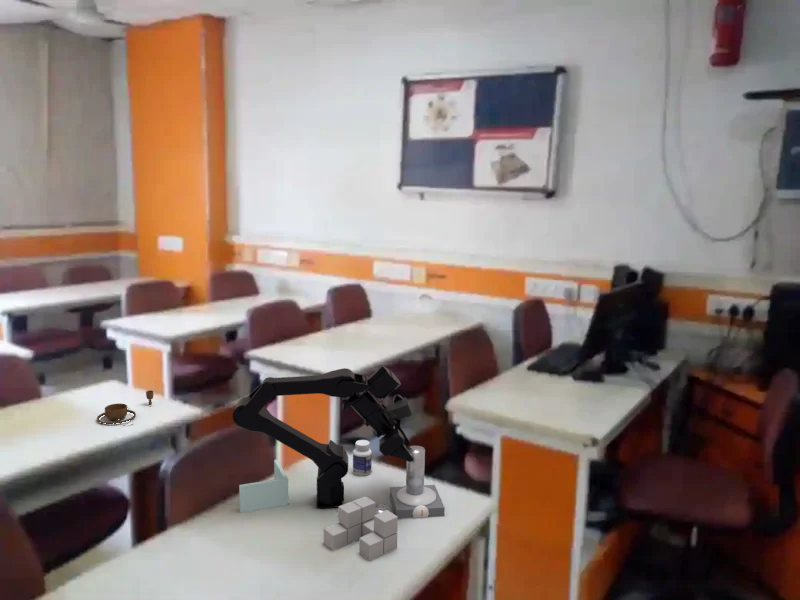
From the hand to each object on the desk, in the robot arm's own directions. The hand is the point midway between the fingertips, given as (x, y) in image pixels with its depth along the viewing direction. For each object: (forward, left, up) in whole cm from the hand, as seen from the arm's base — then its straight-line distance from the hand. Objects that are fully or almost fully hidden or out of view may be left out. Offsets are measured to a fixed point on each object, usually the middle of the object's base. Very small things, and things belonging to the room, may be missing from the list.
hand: (410, 452), depth 165 cm
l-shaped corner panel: (-38, +5, -14) cm, 41 cm away
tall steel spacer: (+1, -1, -10) cm, 10 cm away
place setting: (-86, +67, -14) cm, 110 cm away
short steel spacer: (-9, -9, -13) cm, 18 cm away
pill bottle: (-11, +17, -13) cm, 24 cm away
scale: (+1, -3, -13) cm, 14 cm away
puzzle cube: (-15, -19, -14) cm, 28 cm away
